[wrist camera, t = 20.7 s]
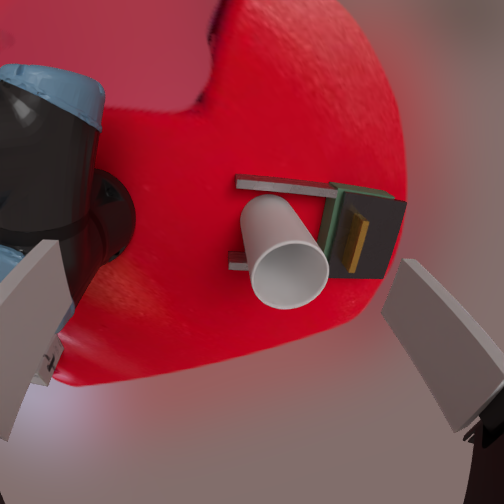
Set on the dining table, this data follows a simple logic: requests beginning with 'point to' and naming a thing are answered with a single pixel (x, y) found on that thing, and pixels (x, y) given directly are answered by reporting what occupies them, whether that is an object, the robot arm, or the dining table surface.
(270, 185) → the bracket
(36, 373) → the ink box
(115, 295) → the dining table surface
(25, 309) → the robot arm
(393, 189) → the dining table surface
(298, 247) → the cup
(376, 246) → the cover
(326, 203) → the green rectangular box
